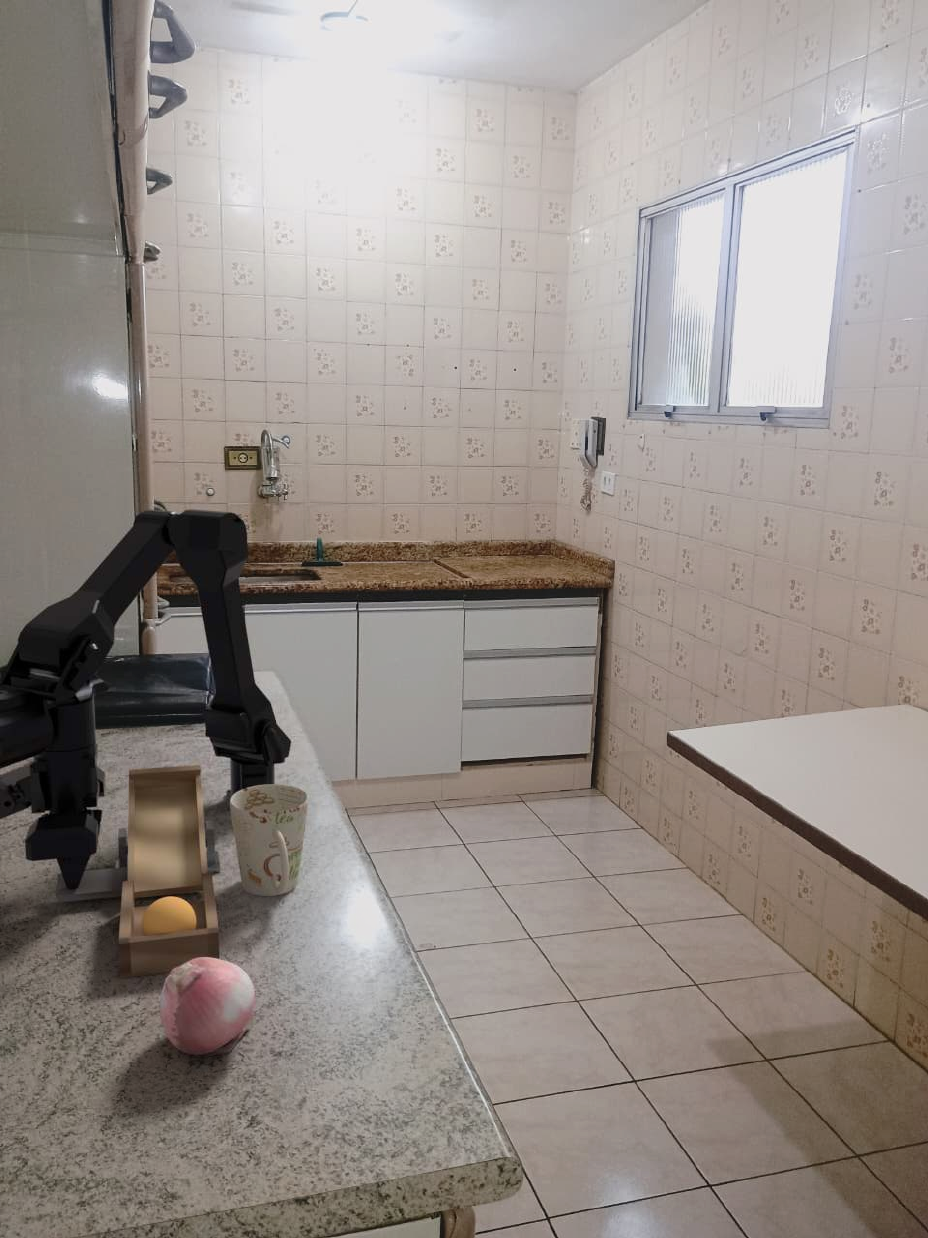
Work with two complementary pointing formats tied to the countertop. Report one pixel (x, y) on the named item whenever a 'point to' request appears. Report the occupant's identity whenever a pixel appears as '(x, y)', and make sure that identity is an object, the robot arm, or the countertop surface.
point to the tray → (166, 936)
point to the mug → (269, 836)
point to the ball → (168, 917)
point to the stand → (211, 854)
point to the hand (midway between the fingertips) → (72, 887)
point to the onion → (206, 1006)
